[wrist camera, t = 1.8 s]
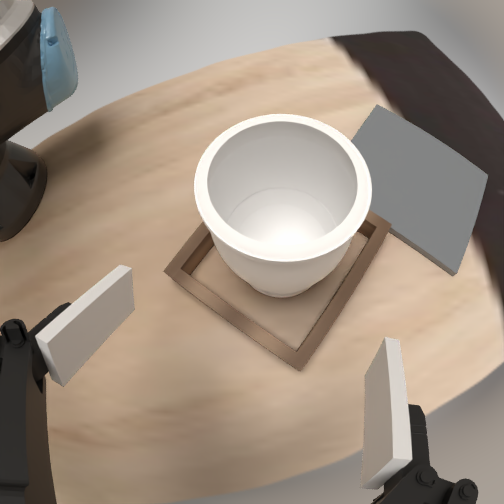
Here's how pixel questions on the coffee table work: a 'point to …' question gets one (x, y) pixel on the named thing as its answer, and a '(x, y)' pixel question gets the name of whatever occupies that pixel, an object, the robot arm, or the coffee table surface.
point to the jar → (282, 200)
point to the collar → (181, 272)
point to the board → (421, 187)
